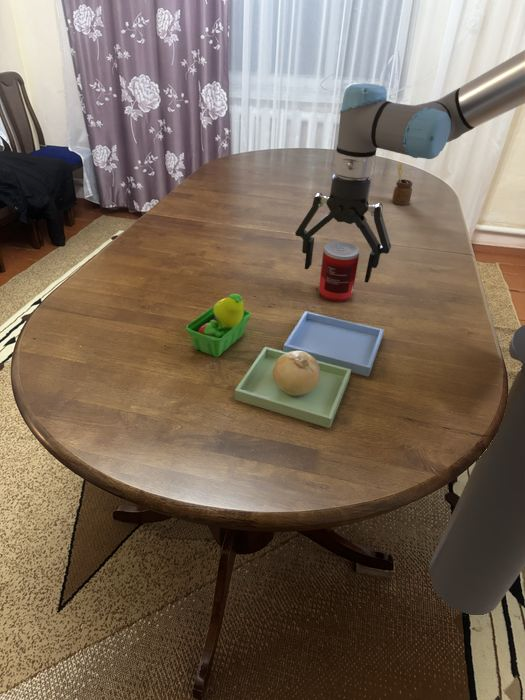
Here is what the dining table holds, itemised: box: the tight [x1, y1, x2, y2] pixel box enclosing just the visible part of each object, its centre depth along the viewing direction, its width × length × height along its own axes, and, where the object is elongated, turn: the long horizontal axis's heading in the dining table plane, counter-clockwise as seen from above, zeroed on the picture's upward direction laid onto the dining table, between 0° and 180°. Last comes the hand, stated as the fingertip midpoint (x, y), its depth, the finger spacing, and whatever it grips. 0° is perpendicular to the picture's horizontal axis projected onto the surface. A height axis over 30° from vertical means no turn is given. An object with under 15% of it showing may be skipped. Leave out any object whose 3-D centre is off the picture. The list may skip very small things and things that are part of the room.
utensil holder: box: [391, 163, 416, 206], centre depth 155 cm, size 6×6×12 cm
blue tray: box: [282, 310, 385, 378], centre depth 89 cm, size 16×13×2 cm
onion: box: [273, 351, 320, 396], centre depth 77 cm, size 8×8×7 cm
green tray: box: [234, 346, 352, 429], centre depth 79 cm, size 16×13×2 cm
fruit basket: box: [185, 293, 252, 358], centre depth 86 cm, size 11×9×11 cm
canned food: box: [318, 241, 360, 303], centre depth 103 cm, size 8×8×11 cm
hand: (337, 273), depth 103 cm, fingers open, 13 cm apart
